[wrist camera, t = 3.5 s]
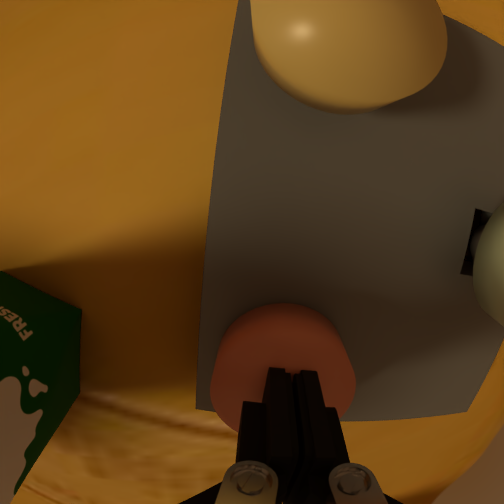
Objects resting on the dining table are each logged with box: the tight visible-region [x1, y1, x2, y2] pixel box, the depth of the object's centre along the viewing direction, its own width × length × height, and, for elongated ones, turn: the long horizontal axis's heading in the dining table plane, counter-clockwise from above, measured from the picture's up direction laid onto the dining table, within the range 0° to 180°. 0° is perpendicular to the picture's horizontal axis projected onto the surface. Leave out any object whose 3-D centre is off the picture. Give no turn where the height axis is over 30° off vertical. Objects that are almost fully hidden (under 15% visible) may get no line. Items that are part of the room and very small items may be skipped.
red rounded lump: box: [210, 303, 356, 432], centre depth 13 cm, size 5×5×5 cm
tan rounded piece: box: [250, 0, 447, 115], centre depth 8 cm, size 5×5×5 cm
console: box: [196, 0, 504, 421], centre depth 13 cm, size 20×16×3 cm
